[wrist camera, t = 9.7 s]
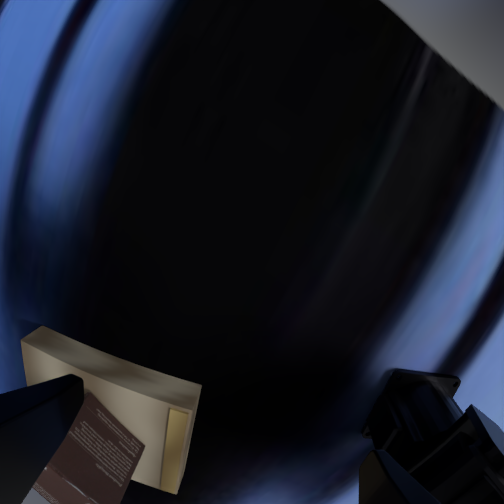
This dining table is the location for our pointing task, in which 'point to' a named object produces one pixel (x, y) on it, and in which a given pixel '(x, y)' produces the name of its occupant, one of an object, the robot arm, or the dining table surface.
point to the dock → (125, 400)
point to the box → (91, 460)
